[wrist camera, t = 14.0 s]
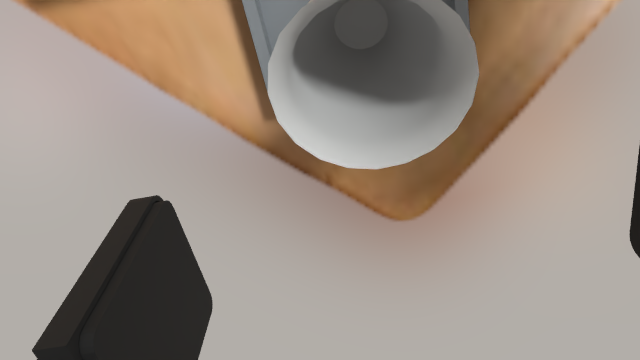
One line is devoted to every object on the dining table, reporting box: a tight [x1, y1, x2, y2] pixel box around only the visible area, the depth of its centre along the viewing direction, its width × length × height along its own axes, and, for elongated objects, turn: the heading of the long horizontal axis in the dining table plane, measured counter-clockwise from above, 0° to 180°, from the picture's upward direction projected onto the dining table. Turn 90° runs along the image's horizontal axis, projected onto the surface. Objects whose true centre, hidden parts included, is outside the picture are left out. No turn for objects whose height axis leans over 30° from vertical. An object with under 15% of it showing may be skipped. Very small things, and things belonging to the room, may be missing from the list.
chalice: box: [268, 0, 479, 169], centre depth 25 cm, size 7×7×18 cm
